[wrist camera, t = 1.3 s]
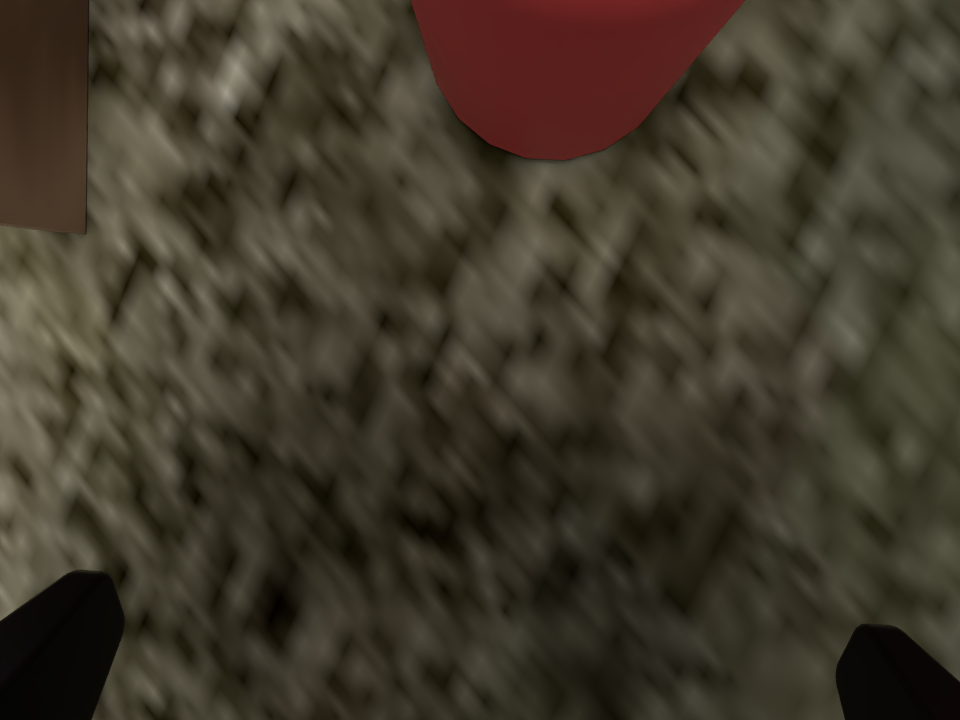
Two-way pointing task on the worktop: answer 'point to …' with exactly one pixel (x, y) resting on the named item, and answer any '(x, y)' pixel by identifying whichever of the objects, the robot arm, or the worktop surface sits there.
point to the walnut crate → (43, 114)
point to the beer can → (562, 65)
